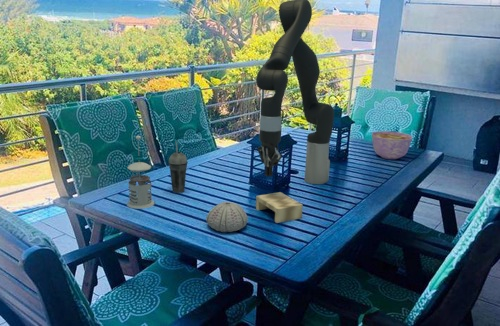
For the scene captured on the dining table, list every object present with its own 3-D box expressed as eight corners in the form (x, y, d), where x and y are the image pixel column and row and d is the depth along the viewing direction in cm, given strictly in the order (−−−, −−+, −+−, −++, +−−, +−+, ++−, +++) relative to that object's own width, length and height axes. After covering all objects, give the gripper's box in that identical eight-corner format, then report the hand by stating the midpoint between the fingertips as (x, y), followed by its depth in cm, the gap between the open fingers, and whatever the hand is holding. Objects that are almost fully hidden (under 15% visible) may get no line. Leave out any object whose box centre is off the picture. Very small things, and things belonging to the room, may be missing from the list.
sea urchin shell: (214, 237, 145) (214, 213, 143) (200, 221, 157) (200, 198, 155) (254, 231, 150) (255, 208, 148) (238, 216, 162) (238, 194, 160)
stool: (280, 192, 172) (302, 204, 161) (279, 204, 174) (301, 218, 162) (256, 195, 168) (277, 209, 156) (255, 209, 169) (277, 223, 157)
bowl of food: (367, 151, 254) (369, 130, 251) (406, 153, 251) (408, 132, 248) (371, 161, 235) (373, 138, 232) (413, 163, 232) (416, 140, 229)
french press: (130, 210, 164) (127, 139, 157) (122, 199, 174) (119, 132, 167) (158, 206, 169) (156, 137, 162) (148, 195, 178) (146, 130, 172)
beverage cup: (191, 189, 187) (190, 140, 181) (182, 195, 180) (182, 144, 175) (174, 187, 189) (173, 138, 183) (165, 192, 182) (164, 142, 177)
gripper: (290, 131, 161) (287, 179, 165) (269, 123, 171) (267, 169, 176) (271, 133, 157) (269, 182, 162) (251, 125, 168) (250, 172, 173)
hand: (268, 175), depth 169 cm, fingers closed
